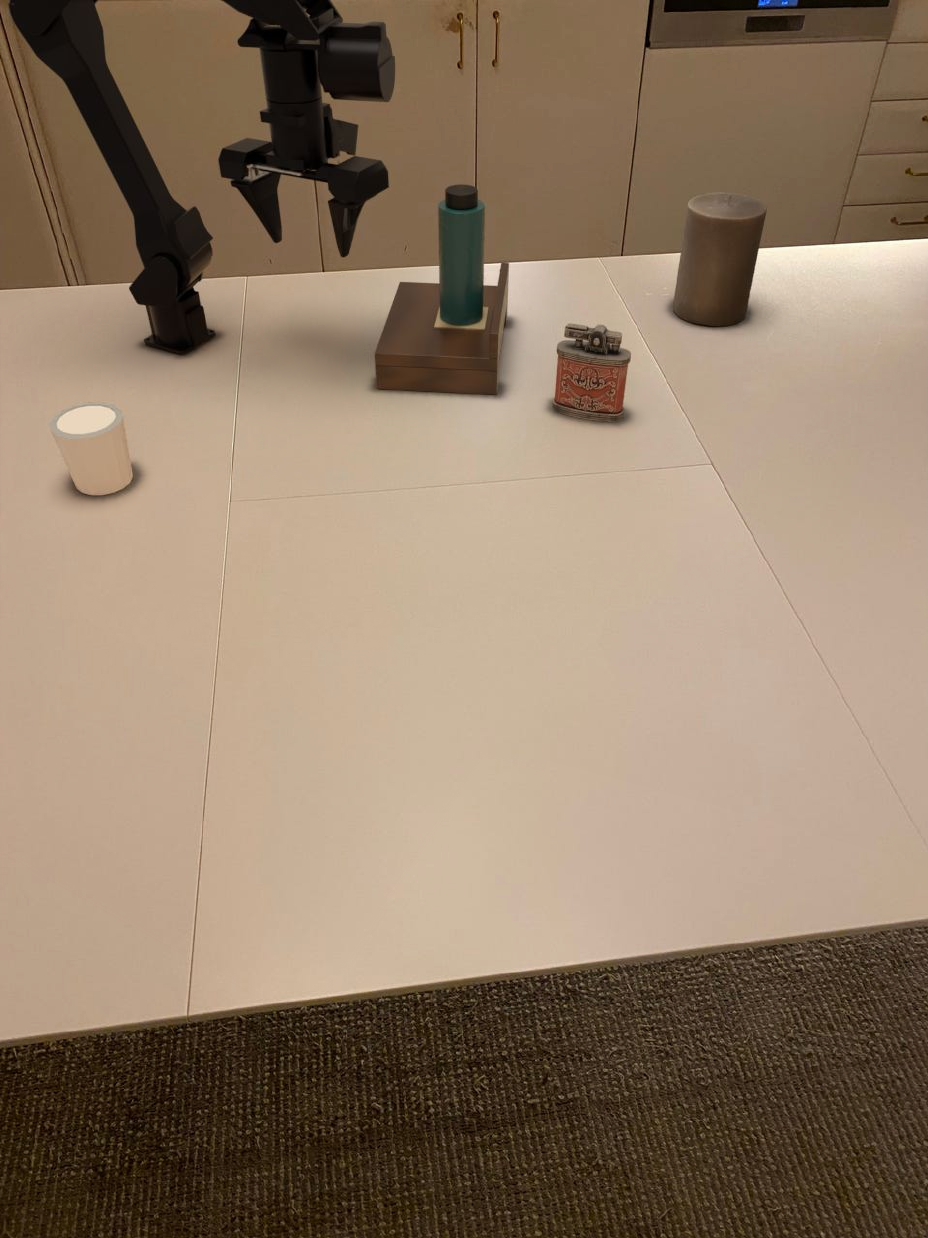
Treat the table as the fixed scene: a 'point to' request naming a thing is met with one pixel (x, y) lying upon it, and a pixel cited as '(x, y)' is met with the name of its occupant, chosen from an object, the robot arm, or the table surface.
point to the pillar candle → (718, 258)
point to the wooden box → (441, 342)
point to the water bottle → (461, 255)
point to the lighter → (591, 373)
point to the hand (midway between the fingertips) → (311, 248)
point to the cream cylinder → (94, 447)
